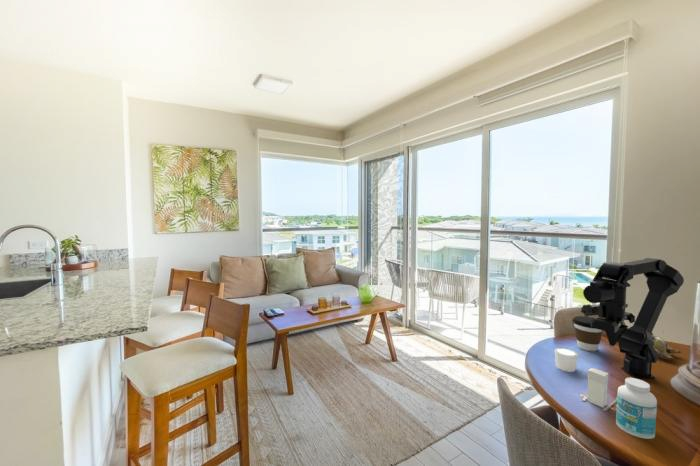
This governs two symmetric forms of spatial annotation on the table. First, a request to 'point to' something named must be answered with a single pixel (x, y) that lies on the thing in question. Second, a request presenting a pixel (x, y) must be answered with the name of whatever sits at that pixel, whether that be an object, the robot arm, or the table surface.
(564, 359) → the white cylinder
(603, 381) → the fader tab
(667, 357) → the ceramic sculpture
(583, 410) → the table surface
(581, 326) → the coffee cup
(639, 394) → the pill bottle
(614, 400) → the console
